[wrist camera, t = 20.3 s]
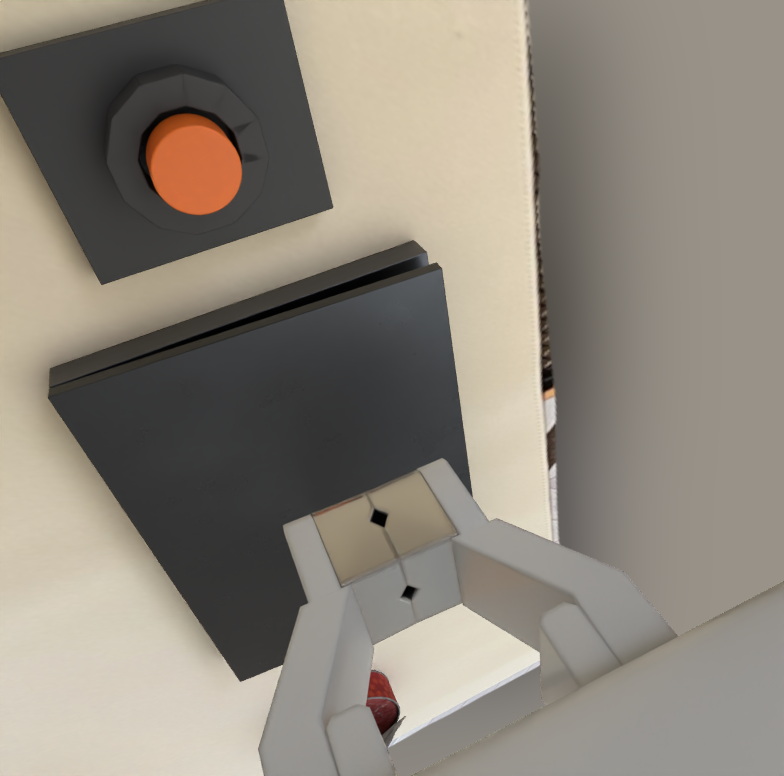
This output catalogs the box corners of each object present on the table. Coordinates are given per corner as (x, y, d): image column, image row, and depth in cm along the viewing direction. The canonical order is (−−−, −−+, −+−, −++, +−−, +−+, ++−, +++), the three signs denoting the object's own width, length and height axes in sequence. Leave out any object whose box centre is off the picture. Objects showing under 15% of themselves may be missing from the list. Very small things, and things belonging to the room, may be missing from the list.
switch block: (100, 274, 32) (103, 306, 30) (-14, 56, 26) (-23, 72, 23) (326, 199, 34) (347, 223, 32) (272, -18, 28) (293, -10, 25)
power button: (165, 209, 29) (171, 227, 27) (130, 127, 26) (134, 140, 25) (243, 184, 29) (253, 200, 28) (216, 102, 27) (225, 114, 25)
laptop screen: (435, 261, 36) (442, 268, 35) (479, 573, 55) (484, 582, 54) (48, 387, 32) (47, 397, 32) (238, 672, 52) (240, 682, 51)
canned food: (357, 628, 66) (437, 687, 60) (351, 695, 70) (424, 755, 65) (272, 700, 58) (355, 776, 52) (271, 770, 62) (348, 846, 57)
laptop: (414, 239, 38) (428, 252, 36) (463, 547, 57) (473, 563, 55) (49, 368, 34) (48, 388, 32) (234, 652, 53) (238, 673, 51)
